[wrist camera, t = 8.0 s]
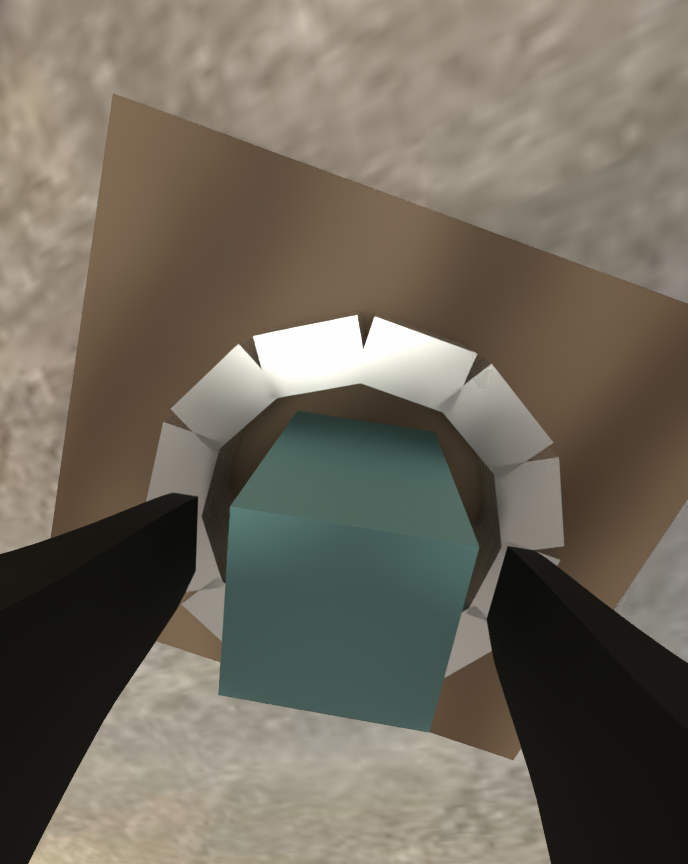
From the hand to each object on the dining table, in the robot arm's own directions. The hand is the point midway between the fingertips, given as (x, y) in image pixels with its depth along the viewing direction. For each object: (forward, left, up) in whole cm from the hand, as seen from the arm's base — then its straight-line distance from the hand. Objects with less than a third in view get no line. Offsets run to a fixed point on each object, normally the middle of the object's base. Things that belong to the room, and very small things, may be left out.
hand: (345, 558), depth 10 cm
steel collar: (0, 0, -4) cm, 4 cm away
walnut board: (0, 0, -4) cm, 4 cm away
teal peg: (0, 0, -3) cm, 3 cm away
